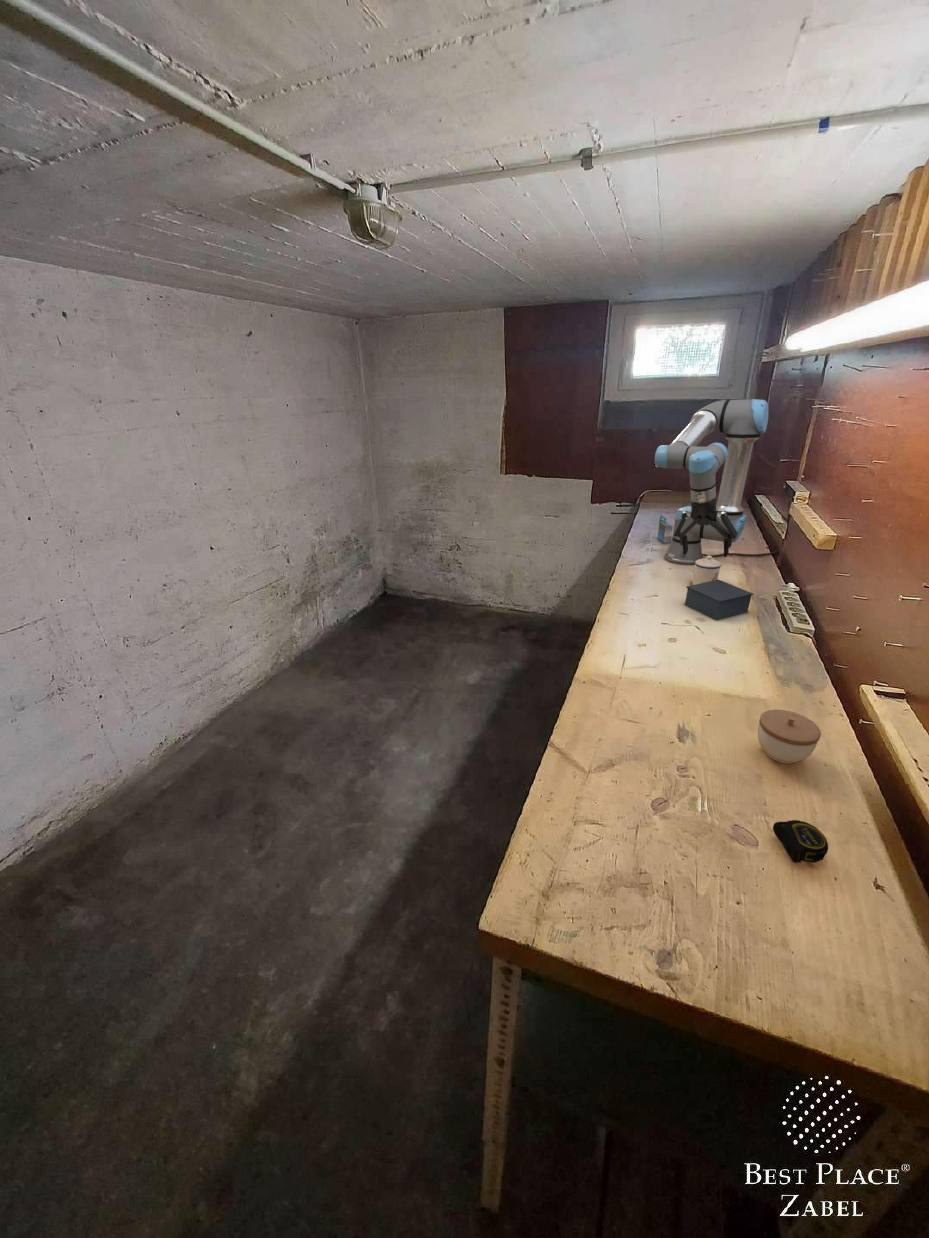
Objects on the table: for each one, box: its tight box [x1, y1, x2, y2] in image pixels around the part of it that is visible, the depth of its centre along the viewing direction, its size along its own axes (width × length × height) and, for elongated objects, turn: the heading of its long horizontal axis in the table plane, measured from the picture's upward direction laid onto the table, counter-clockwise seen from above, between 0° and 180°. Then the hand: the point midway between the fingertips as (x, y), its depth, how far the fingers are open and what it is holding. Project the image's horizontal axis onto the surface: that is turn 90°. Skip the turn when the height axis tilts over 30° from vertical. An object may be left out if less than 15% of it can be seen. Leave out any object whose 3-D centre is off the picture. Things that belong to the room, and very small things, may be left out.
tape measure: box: [772, 819, 829, 864], centre depth 82 cm, size 7×7×4 cm
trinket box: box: [757, 709, 822, 765], centre depth 101 cm, size 11×11×9 cm
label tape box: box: [657, 514, 674, 544], centre depth 238 cm, size 9×4×12 cm, turn 179°
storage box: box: [684, 579, 754, 621], centre depth 167 cm, size 15×15×7 cm
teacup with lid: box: [691, 556, 722, 585], centre depth 186 cm, size 12×9×12 cm
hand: (705, 554), depth 172 cm, fingers open, 13 cm apart
